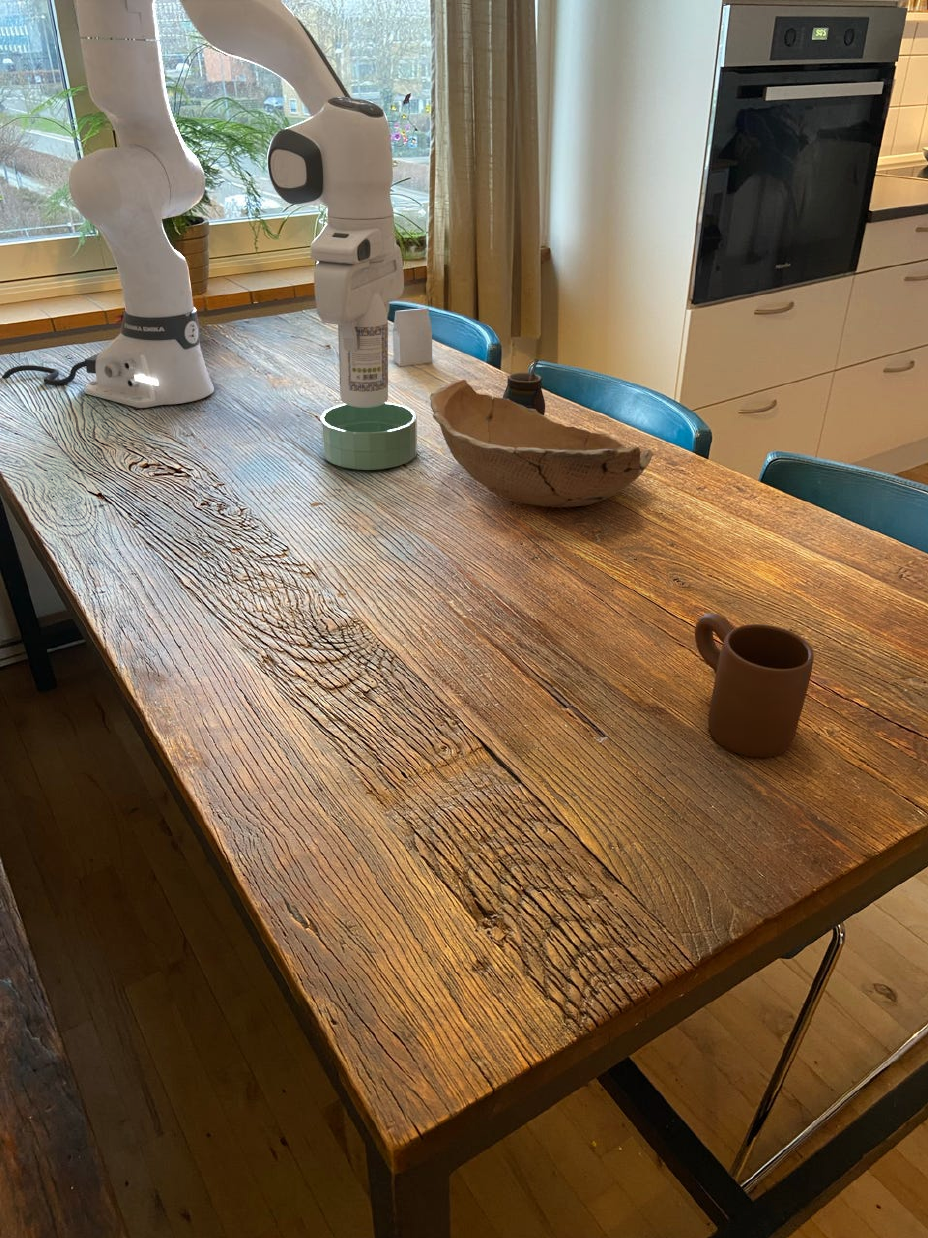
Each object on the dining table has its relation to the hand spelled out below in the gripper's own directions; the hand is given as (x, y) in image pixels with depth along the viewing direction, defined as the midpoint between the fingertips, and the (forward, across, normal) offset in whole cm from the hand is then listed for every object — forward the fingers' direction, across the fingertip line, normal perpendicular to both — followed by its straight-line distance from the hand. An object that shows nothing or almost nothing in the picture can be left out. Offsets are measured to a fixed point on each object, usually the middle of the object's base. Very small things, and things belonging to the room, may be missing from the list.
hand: (365, 342), depth 129 cm
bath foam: (+9, 0, -1) cm, 9 cm away
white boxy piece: (+17, -48, -14) cm, 53 cm away
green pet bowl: (+17, 0, 0) cm, 17 cm away
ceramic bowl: (+17, +3, +27) cm, 32 cm away
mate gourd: (+17, -22, +17) cm, 33 cm away
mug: (+17, +46, +59) cm, 77 cm away
